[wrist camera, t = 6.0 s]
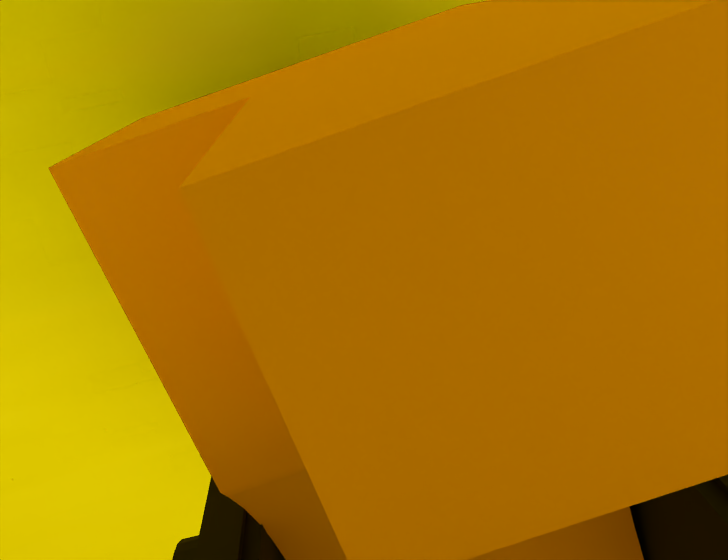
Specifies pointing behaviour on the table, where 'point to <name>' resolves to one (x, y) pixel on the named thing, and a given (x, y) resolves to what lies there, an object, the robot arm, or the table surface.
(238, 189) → the pipe clamp
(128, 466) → the table surface
